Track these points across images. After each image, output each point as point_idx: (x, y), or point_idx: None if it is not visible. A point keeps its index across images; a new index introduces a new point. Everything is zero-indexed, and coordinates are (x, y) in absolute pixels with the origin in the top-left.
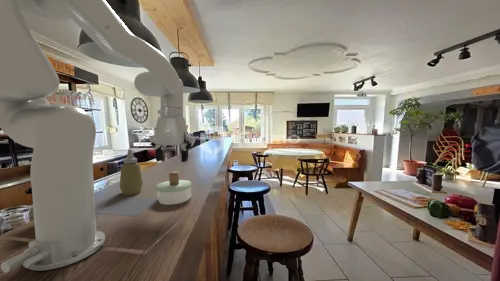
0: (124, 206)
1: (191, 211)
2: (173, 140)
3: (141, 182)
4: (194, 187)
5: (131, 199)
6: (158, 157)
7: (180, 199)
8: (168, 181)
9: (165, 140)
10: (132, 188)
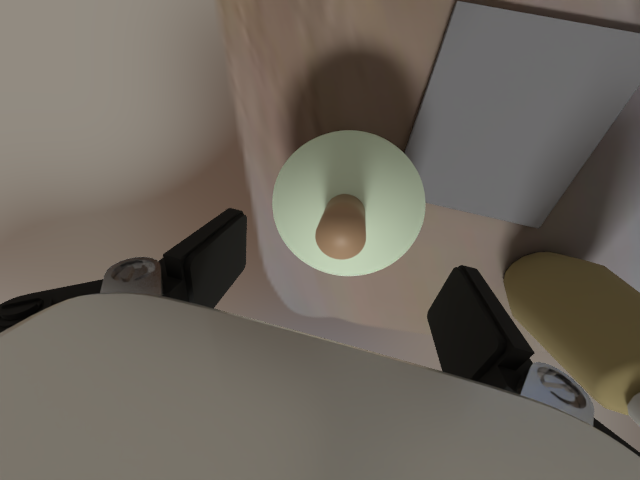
0: (534, 120)
1: (256, 79)
2: (147, 395)
3: (517, 301)
4: (316, 304)
5: (521, 199)
6: (463, 288)
7: None
8: (384, 257)
9: (394, 463)
10: (545, 263)
